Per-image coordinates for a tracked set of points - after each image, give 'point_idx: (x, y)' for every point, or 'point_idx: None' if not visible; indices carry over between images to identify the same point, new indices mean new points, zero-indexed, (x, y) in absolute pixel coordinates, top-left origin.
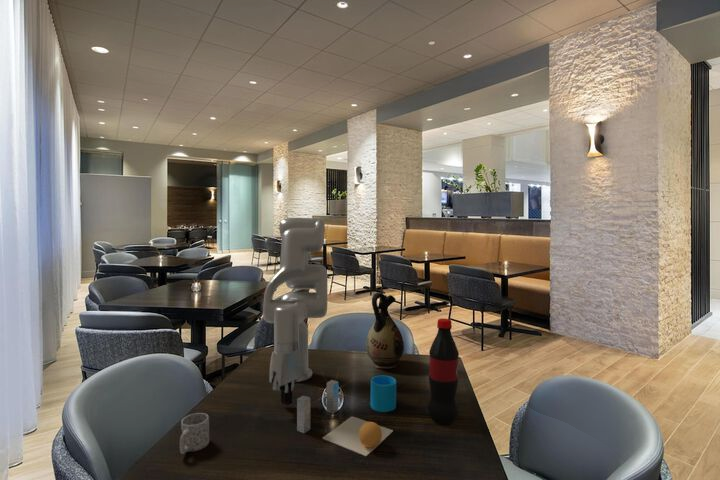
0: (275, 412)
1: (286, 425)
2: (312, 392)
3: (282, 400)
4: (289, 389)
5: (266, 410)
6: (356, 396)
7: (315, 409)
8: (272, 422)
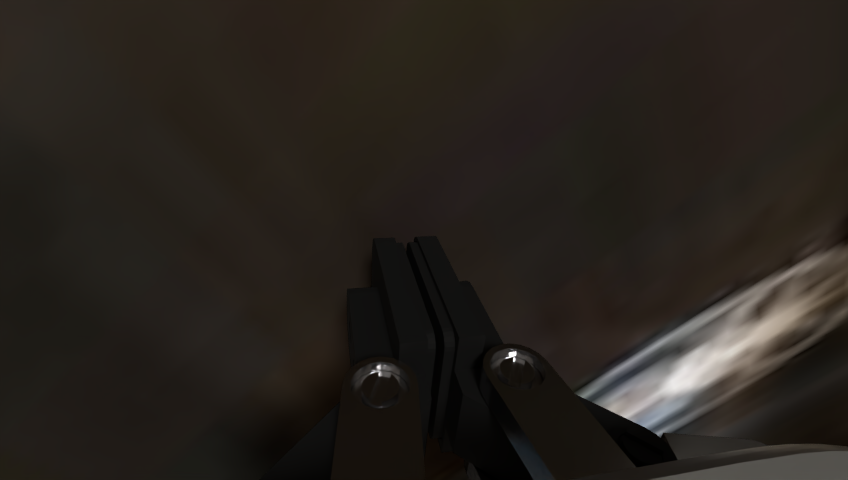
0: (247, 237)
1: (166, 446)
2: (741, 226)
3: (349, 309)
4: (458, 446)
5: (199, 118)
6: None
7: None
8: (91, 352)
